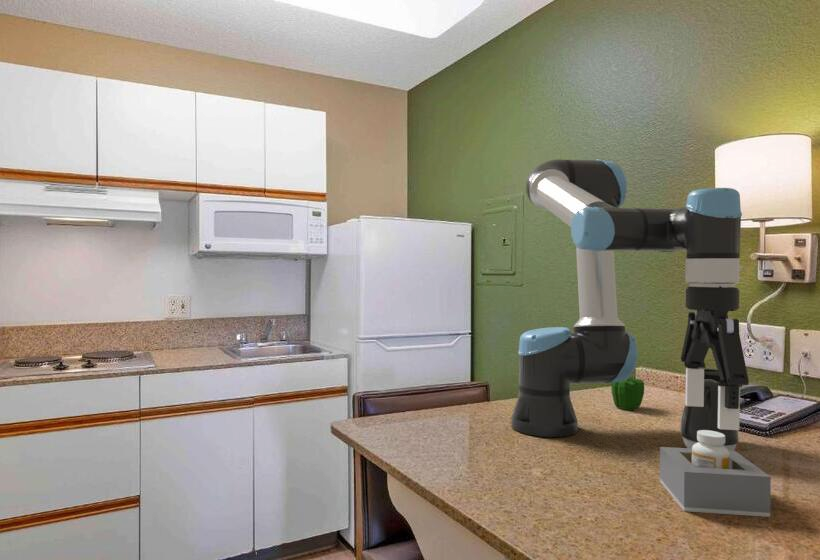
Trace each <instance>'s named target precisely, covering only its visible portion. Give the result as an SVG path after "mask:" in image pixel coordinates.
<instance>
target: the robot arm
mask: <svg viewBox="0 0 820 560" xmlns="http://www.w3.org/2000/svg"><path fill="white" fill-rule="evenodd" d="M526 179H527V180H526V182H525V193H526V196H527V198H528V200H529V201H530V202H531V203H532V205H534V206H535V207H536V208H538V209H540V210H541V211H542V210H543V211H549V212H550V213H551V214H553V215H554V216H556V217H557V218H558V220H561V221H562V222H563V223H565V224H566V225H568V226H569V227H570V235H571V239H572V240H573V245H575V247H576V248H575V250H576V251H575V252H576V254H575V255H576V270H577V290H578V308H579V309H578V310H579V313H578V314H579V319H578V321H576V322H575V324H574V325H573V333H572V332H571V330H570V328H568V327H566V326H565V327H563V326H556V327H555V326H554V327H541V328H535V329H531V330H527V331H525V332H523V333H522V334H521V335H520V337H519V343H518V352H517V353H518V395H517V399H516V402H515V405H514V408H513V410H512V414H511V416H510V417H511V421H510V423H511V424H510V427H511V428H512V429H513V430H514V431H517V432H519V433H522V434H526V435H528V436H529V435H530V436H535V437H536V436H537V437H545V438H548V437H549V438H560V437H561V438H562V437H568V436H569V437H570V436H572V435H574V434H576V433H577V432H578V428H579V427H578V426H579V425H578V418H577V415H576V412H575V410H574V406H573V402H572V400H571V391H570V390H571V384H595V383H596V384H597V383H600V384H601V383H604V384H612V382H621V381H625V380H626V379H628V378H631V376H632V374H633V372H634V371H635V368H636V365H637V361H638V344H637V342H636V341H635V337H634V336H633V335H632V334H630V333H629V332H627V331H626V324H624V322H622V321H621V320H620V319H619V318H618V317H619V316H618V304H617V287H616V270H615V269H616V268H615V266H616V265H615V254H614V253H615V251H640V252H641V251H646V252H647V251H649V252H653V251H655V252H662V253H666V252H668V253H674V252H677V251H686V259H685V283H687V284H689V286H686V287H687V288H685V307H686V309H688V310H693V311H689V312H688V314H687V327H686V331H685V335H684V341H683V344H682V345H683V346H682V350H681V356H680V361H681V362H683V363H684V367H685V404H684V406H685V405H686V406H696V407H704V369H707V368H706V367H707V366H706V363H705V358H706V356H707V354H708V352H709V349H711V352H712V355H713V360H714V362H715V365H716V370H718V373H719V376H720V380H719V381H718V382H717V386H718V428H719V429H725V430H738V431H740V419H741V418H740V414H741V409H740V407H741V405H740V404H741V387H743V386H747V385H749V376H748V371H747V366H746V360H745V356H744V350H743V346H742V340H741V335H740V321H739V319H738V318H729V315H728V312H729V313H730V312H735V311H738V310H739V309H740V289H739V287H735V286H736V285H737V284H739V283H740V271H742V270H743V265H741V264H740V256H741V255H740V254H741V232H742V231H741V227H742V226H741V225H742V222H741V221H742V214H743V213H742V211H741V195H740V192H739V191H738V190H737V189H735V188H731V187H730V188H729V187H711V188H701V189H696V190H692V191H690V193H688V195H687V198H686V199H687V200H686V204H685V206H684V207H679V208H650V207H649V208H643V207H642V208H640V207H627V208H626V207H622V206H623V205H624V203H625V201H626V198H627V197H626V194H627V193H628V192H627V191H628V183H627V178H626V174H625V172H624V170H623V169H622V166H620V165H619V164H618V163H616V162H615V161H610V160H603V159H592V160H591V159H564V158H563V159H560V158H559V159H558V158H557V159H551V160H547V161H545V162H542V163H541V164H539V165H537V166H536V167H534V168H533V170H532V171H531V172H530V173H529V175H528V177H527V178H526ZM694 311H695V312H694Z"/></svg>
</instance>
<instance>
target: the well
mask: <svg viewBox="0 0 820 560" xmlns="http://www.w3.org/2000/svg"><path fill="white" fill-rule="evenodd" d="M728 451H729V454H730V456H729V469H718V468H700V467H695V466H694V465H692V464H691V463H692V448H687V447H669V446H668V447H667V446H659V481H660V483H661V484H662V486H663V487H664V488H665V489H666V491H667V493H669V494H670V496H671V497H672V498H673V499H674V501H675V502H676V504H678V506H679V507H680V508H681V509H682V510H683V512H689V513H691V512H692V513H693V512H694V513H707V514H720V515H734V516H735V515H736V516H752V517H764V518H770V517H771V494H772V493H771V491H772V490H771V485H772V484H771V481H772V477H771V475H769V474H767V473H766V472H765V471H763V470H762V469H760V468H759V467H758V466H757V465H755V464H754V463H752V462H751V461H750V460H748V459H747V458H745V457H744V456H743V455H741V454H740V453H738V452H737V451H736V450H734V451H733V450H728Z"/></svg>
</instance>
